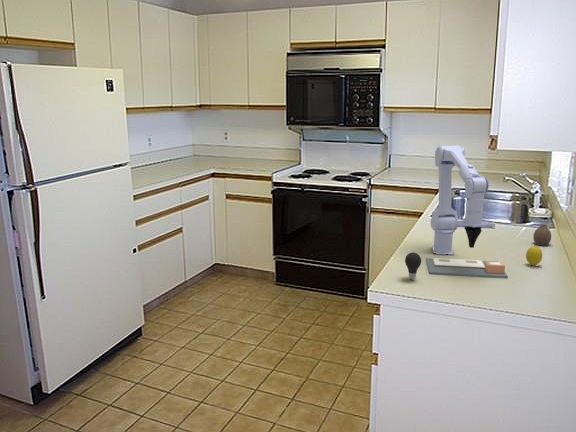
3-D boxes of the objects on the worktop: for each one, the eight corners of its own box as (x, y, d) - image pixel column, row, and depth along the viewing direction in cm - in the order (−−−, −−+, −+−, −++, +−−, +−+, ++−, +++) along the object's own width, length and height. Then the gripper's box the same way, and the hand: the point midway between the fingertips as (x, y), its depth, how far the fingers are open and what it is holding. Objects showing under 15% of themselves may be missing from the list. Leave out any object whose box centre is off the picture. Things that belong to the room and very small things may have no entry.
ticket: (432, 259, 197) (433, 257, 197) (481, 261, 194) (481, 260, 194) (434, 266, 190) (435, 264, 190) (485, 269, 187) (485, 267, 186)
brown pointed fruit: (534, 246, 215) (536, 226, 213) (530, 241, 222) (533, 222, 220) (552, 247, 214) (554, 227, 211) (548, 242, 220) (550, 223, 218)
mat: (425, 259, 200) (426, 257, 199) (498, 263, 195) (498, 261, 194) (429, 274, 184) (429, 272, 184) (507, 278, 179) (507, 276, 179)
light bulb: (408, 283, 176) (410, 256, 173) (401, 277, 181) (402, 251, 179) (423, 281, 177) (424, 254, 175) (415, 276, 183) (416, 249, 180)
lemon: (527, 262, 196) (529, 242, 194) (542, 265, 192) (545, 245, 190) (523, 266, 192) (525, 246, 190) (538, 269, 188) (541, 248, 186)
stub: (484, 269, 186) (485, 261, 185) (501, 270, 185) (502, 262, 184) (486, 272, 182) (487, 264, 182) (504, 273, 181) (505, 265, 181)
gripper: (454, 212, 177) (451, 249, 181) (498, 213, 175) (494, 251, 178) (452, 207, 184) (449, 243, 187) (494, 209, 181) (490, 245, 185)
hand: (471, 246), depth 183 cm, fingers closed
